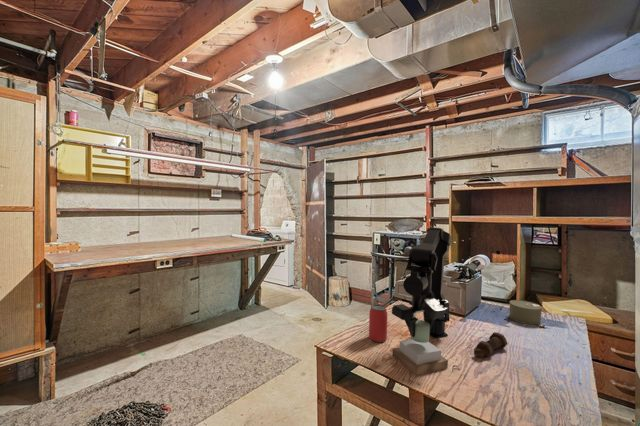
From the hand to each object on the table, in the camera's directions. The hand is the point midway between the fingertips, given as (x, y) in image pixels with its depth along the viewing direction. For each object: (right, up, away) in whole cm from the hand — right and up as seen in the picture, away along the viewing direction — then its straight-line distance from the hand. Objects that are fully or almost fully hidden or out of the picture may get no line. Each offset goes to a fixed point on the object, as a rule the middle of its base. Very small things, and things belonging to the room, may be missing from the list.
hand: (420, 335), depth 94 cm
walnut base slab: (0, -9, 0) cm, 9 cm away
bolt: (+26, -9, +7) cm, 29 cm away
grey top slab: (0, -6, 0) cm, 6 cm away
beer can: (-11, -8, +16) cm, 20 cm away
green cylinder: (0, -1, 0) cm, 1 cm away
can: (+60, -9, +38) cm, 71 cm away
